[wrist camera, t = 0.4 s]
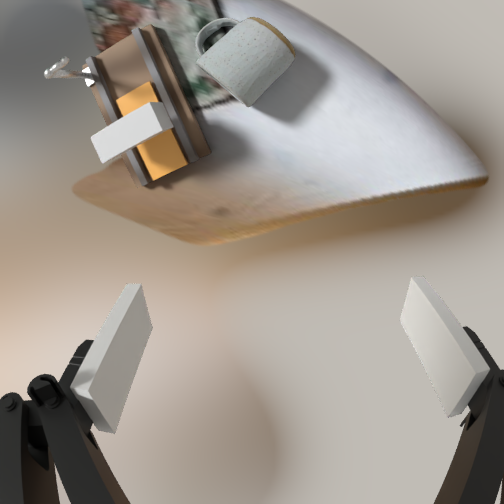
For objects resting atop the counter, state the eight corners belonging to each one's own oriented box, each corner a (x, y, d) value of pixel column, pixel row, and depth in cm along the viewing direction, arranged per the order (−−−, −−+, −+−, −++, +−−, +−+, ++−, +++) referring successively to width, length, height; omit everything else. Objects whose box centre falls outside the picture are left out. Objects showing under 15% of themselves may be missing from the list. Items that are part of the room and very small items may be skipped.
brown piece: (87, 66, 31) (77, 65, 28) (154, 26, 29) (147, 21, 26) (141, 185, 38) (133, 190, 35) (211, 152, 36) (207, 155, 34)
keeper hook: (83, 71, 30) (38, 68, 21) (103, 57, 29) (61, 48, 20) (89, 86, 31) (44, 86, 22) (110, 72, 30) (68, 67, 21)
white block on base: (109, 105, 32) (77, 107, 25) (159, 76, 30) (135, 70, 23) (146, 183, 36) (122, 203, 29) (197, 159, 35) (182, 173, 28)
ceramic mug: (296, 61, 31) (306, 49, 24) (249, 109, 34) (246, 108, 27) (228, 8, 28) (221, -15, 21) (181, 55, 31) (163, 43, 24)
